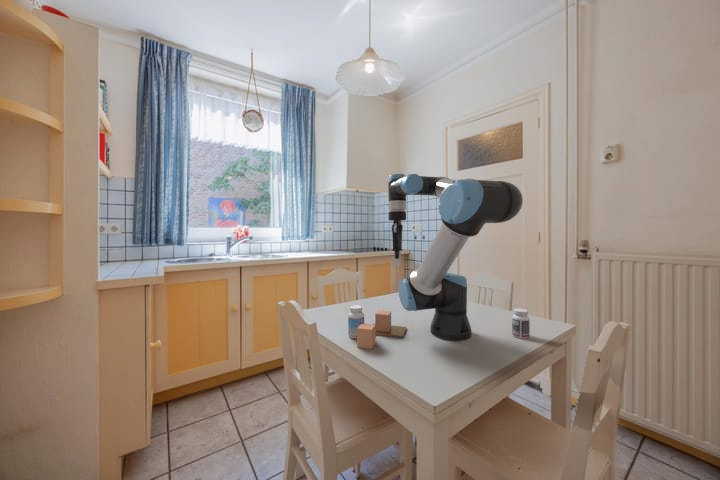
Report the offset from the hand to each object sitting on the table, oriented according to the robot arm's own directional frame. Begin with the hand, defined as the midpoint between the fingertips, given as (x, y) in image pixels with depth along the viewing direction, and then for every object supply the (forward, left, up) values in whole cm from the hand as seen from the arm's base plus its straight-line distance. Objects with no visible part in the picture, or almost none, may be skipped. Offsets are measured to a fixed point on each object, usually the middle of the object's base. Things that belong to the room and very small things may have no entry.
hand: (397, 265), depth 124 cm
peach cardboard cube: (+6, +28, -24) cm, 38 cm away
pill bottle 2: (-47, +4, -25) cm, 53 cm away
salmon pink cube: (+3, +13, -24) cm, 27 cm away
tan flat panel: (+3, +13, -24) cm, 28 cm away
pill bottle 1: (+12, +21, -25) cm, 35 cm away
